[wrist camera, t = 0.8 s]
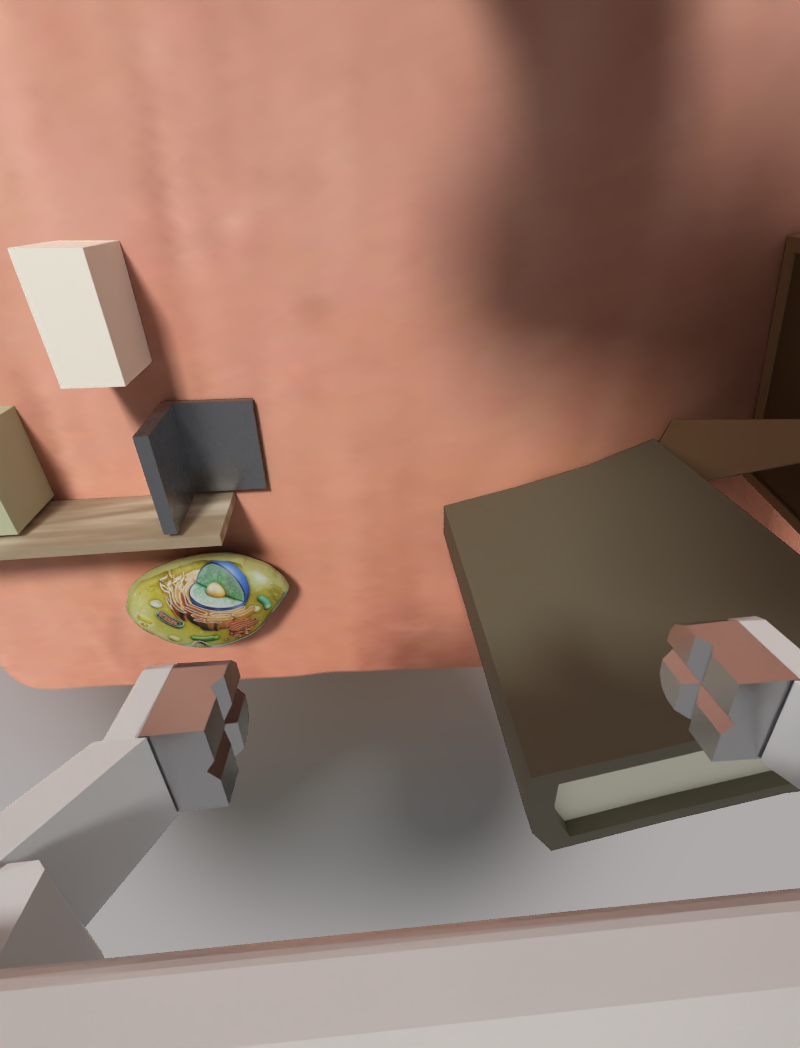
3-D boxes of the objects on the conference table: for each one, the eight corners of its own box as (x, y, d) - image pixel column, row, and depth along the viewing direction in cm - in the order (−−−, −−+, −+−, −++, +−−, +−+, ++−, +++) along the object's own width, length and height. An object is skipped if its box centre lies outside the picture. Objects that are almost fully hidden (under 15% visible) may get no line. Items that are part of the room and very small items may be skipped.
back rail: (-130, 411, 37) (-216, 450, 31) (214, 398, 39) (194, 433, 33) (-64, 517, 42) (-127, 568, 36) (236, 500, 44) (222, 545, 39)
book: (456, 573, 53) (542, 864, 30) (435, 505, 48) (519, 793, 25) (653, 516, 51) (904, 779, 28) (653, 438, 46) (962, 683, 23)
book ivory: (55, 240, 32) (6, 248, 27) (119, 240, 33) (82, 247, 28) (97, 363, 37) (60, 388, 32) (152, 361, 37) (125, 386, 32)
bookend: (161, 401, 39) (132, 437, 33) (252, 397, 39) (239, 432, 34) (185, 489, 43) (163, 534, 37) (267, 485, 44) (257, 528, 38)
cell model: (103, 568, 44) (242, 578, 40) (162, 535, 51) (286, 541, 47) (135, 663, 48) (265, 681, 44) (186, 620, 55) (302, 633, 51)
